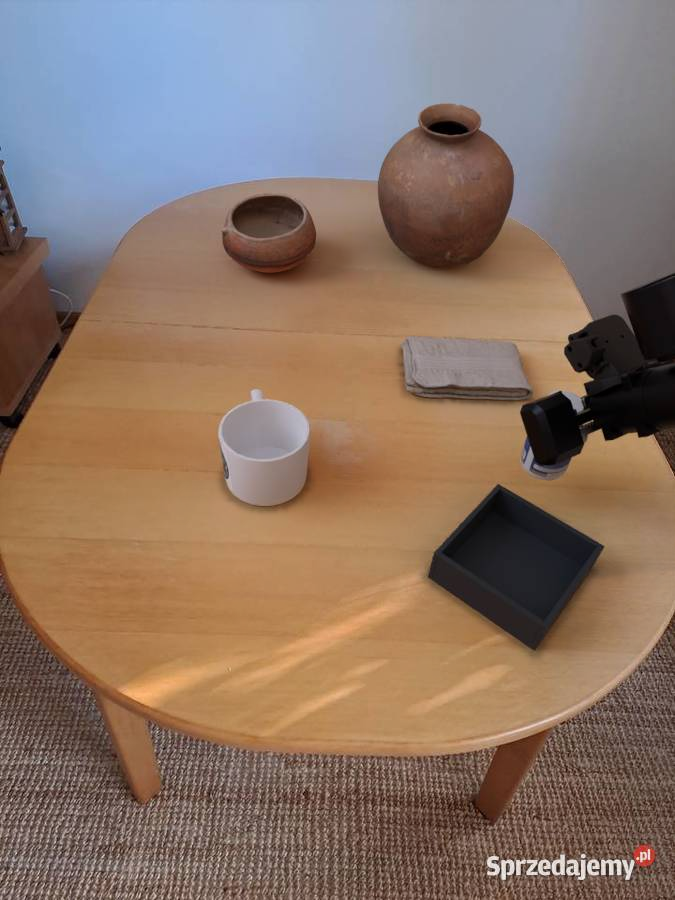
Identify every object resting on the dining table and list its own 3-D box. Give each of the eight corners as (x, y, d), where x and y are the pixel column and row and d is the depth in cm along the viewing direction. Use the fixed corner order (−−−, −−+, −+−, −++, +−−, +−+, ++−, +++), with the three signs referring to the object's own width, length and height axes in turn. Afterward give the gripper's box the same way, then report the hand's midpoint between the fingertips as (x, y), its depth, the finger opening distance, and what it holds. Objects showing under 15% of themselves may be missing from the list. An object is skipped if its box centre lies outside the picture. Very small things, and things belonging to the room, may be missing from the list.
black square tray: (591, 570, 75) (604, 545, 72) (534, 651, 67) (547, 628, 64) (489, 508, 81) (498, 483, 77) (427, 577, 73) (433, 552, 70)
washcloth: (398, 348, 102) (400, 331, 100) (514, 351, 103) (519, 335, 101) (404, 399, 94) (407, 382, 92) (531, 403, 95) (536, 386, 92)
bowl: (208, 272, 115) (203, 217, 108) (251, 233, 125) (249, 180, 118) (291, 295, 111) (291, 239, 104) (328, 253, 121) (331, 199, 114)
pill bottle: (575, 471, 78) (602, 408, 71) (541, 488, 76) (565, 424, 69) (543, 443, 81) (565, 380, 74) (509, 458, 79) (529, 394, 72)
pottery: (475, 223, 132) (504, 85, 114) (512, 287, 116) (552, 138, 98) (361, 225, 129) (373, 84, 112) (383, 290, 113) (401, 138, 96)
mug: (316, 503, 80) (318, 455, 74) (227, 515, 78) (222, 467, 72) (297, 426, 89) (297, 379, 83) (217, 435, 87) (211, 387, 81)
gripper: (709, 287, 63) (588, 325, 77) (562, 338, 56) (459, 370, 70) (742, 399, 64) (617, 417, 78) (601, 464, 57) (492, 470, 71)
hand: (549, 416), depth 75 cm, fingers closed on pill bottle, 5 cm apart
